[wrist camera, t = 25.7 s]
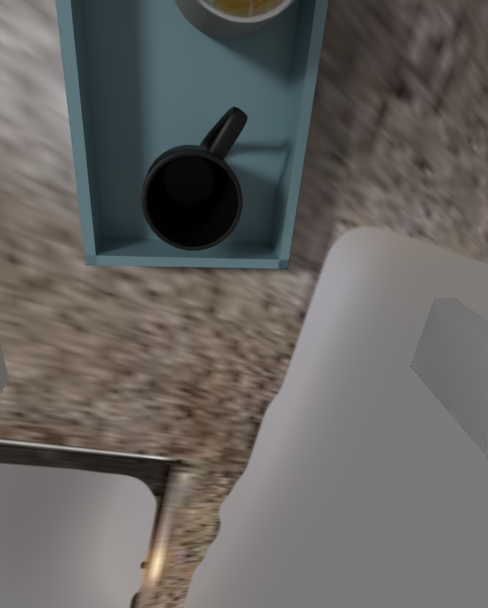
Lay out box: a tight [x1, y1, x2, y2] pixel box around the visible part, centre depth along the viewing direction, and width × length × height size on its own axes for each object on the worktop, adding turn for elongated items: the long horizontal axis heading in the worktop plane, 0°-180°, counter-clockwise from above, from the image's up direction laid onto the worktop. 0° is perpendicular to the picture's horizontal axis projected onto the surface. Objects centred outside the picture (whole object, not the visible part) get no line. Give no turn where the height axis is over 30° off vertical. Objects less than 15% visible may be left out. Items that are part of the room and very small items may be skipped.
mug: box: [141, 106, 248, 251], centre depth 35 cm, size 8×12×10 cm
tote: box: [56, 0, 329, 269], centre depth 34 cm, size 32×20×6 cm, turn 175°
